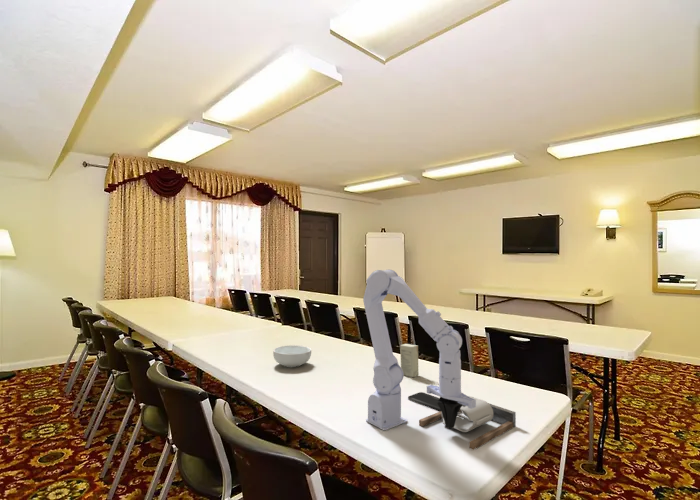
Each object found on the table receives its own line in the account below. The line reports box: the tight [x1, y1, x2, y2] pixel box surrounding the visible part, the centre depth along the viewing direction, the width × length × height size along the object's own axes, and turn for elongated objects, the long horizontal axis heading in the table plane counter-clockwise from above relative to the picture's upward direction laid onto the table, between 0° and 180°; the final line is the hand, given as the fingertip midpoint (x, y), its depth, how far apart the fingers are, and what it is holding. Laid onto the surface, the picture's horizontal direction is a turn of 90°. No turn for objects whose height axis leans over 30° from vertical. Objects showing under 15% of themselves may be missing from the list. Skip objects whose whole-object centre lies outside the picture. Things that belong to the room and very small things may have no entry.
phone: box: [407, 391, 441, 412], centre depth 120 cm, size 8×1×15 cm
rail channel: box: [418, 403, 517, 451], centre depth 103 cm, size 21×17×4 cm
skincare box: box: [399, 343, 420, 378], centre depth 150 cm, size 6×4×12 cm
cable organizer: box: [441, 395, 493, 433], centre depth 104 cm, size 7×12×12 cm
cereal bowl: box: [272, 344, 312, 368], centre depth 164 cm, size 17×17×7 cm
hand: (450, 426), depth 98 cm, fingers closed, pressing on cable organizer
